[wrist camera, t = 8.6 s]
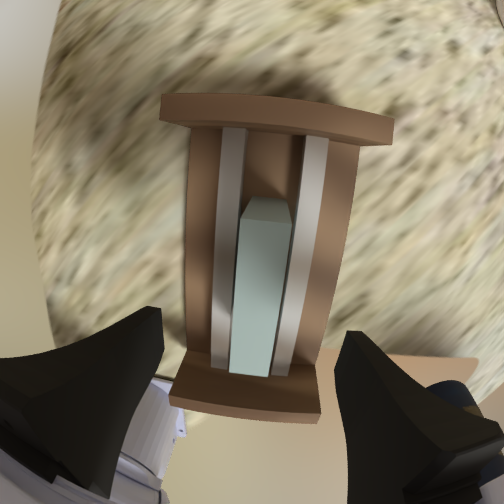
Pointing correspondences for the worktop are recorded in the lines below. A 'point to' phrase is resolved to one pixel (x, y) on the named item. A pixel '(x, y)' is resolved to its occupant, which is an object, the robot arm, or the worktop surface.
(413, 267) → the worktop surface
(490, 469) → the canister
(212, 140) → the track base
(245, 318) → the door panel
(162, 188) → the worktop surface
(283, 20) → the worktop surface
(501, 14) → the coaster
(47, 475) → the robot arm
